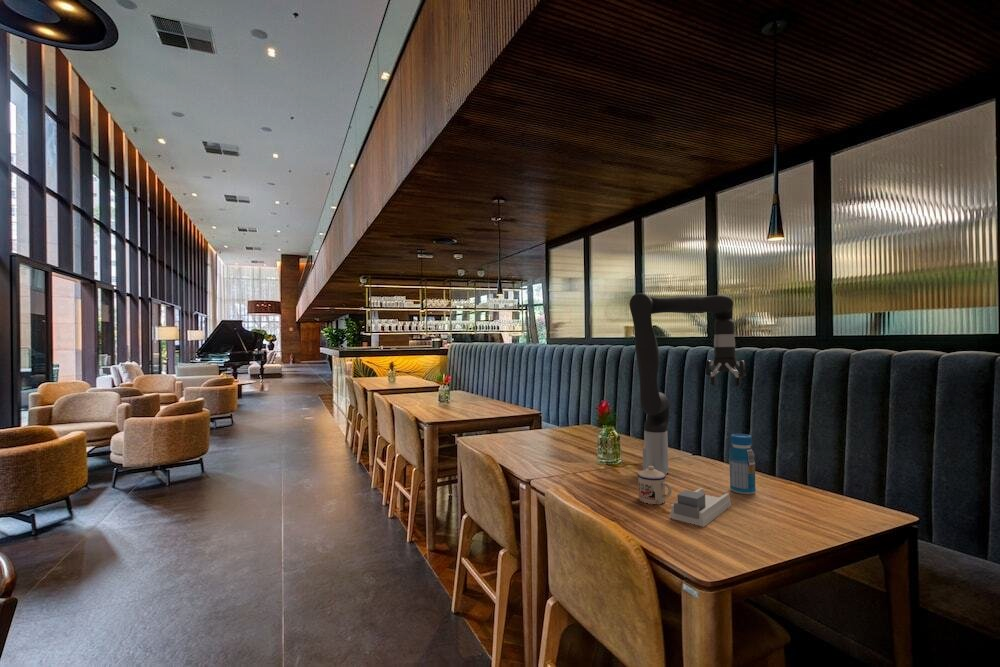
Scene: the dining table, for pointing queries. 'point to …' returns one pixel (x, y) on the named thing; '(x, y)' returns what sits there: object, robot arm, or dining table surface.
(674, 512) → the slide rail
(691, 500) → the slider block
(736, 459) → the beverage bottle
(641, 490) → the teacup with lid
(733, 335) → the robot arm
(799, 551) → the dining table surface
